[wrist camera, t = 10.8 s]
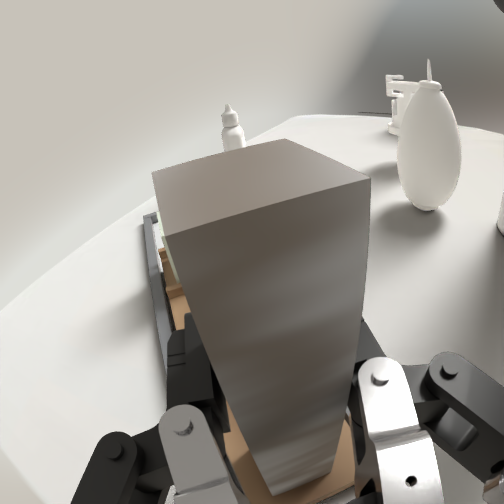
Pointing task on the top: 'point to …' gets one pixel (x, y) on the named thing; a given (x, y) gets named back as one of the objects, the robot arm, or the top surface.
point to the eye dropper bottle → (232, 130)
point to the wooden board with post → (273, 304)
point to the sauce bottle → (428, 147)
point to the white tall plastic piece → (399, 100)
